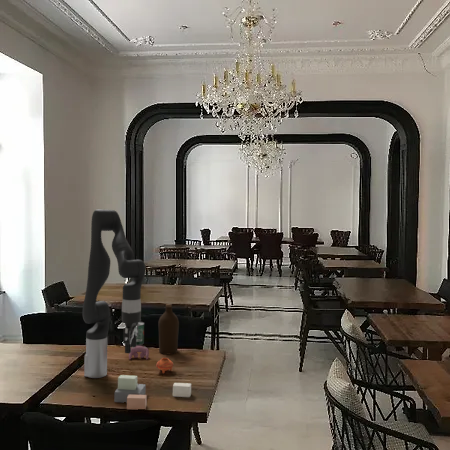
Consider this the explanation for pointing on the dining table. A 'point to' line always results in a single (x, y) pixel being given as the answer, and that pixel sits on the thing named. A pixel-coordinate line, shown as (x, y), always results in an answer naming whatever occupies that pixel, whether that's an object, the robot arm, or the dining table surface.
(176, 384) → the cream brick
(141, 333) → the canned tomato
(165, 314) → the brown bottle
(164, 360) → the pot
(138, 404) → the terracotta brick
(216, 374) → the dining table surface
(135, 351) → the video game controller
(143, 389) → the charcoal block
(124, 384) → the sage brick
